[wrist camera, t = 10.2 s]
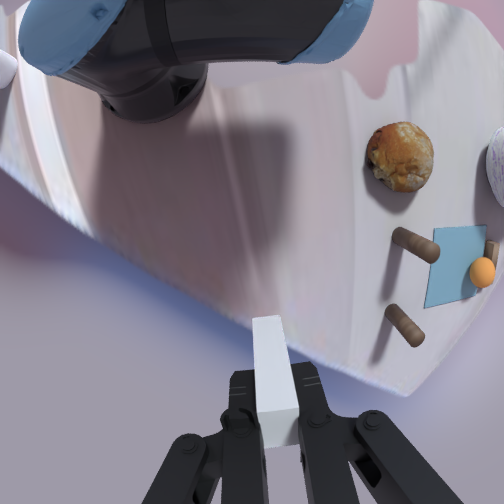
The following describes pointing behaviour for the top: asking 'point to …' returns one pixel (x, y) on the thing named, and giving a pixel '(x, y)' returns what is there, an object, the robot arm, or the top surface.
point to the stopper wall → (492, 252)
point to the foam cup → (6, 68)
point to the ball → (482, 272)
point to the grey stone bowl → (496, 165)
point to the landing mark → (454, 264)
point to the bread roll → (401, 156)
